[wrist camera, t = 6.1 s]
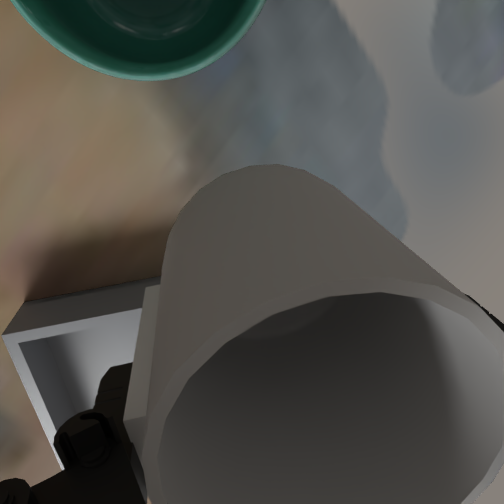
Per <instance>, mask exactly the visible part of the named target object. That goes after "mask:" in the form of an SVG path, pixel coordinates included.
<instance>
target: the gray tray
mask: <svg viewBox="0 0 504 504" xmlns="http://www.w3.org/2000/svg"><path fill="white" fill-rule="evenodd" d="M159 284H161V276H159V277H153V278H148V279H143V280H138V281H132V282H127V283H122V284H117V285H112V286H106V287H101V288H96V289H91V290H86V291H80V292H75V293H70V294H65V295H59V296H54V297H49V298H44V299H39V300H33V301H28V302H24V303H23V304H22V306H21V307H20V309H19V310H18V312H17V313H16V315H15V316H14V318H13V319H12V321H11V322H10V323H9V325H8V326H7V328H6V329H5V331H4V332H3V334H2V335H1V336H2V338H3V340H4V343H5V345H6V347H7V349H8V352H9V354H10V356H11V358H12V360H13V363H14V365H15V367H16V369H17V371H18V374H19V376H20V378H21V380H22V383H23V385H24V387H25V389H26V391H27V394H28V396H29V398H30V400H31V402H32V405H33V407H34V409H35V411H36V414H37V416H38V418H39V420H40V422H41V425H42V427H43V429H44V431H45V433H46V436H47V438H48V440H49V442H50V445H51V447H52V449H53V451H54V453H55V456H56V458H57V460H58V462H59V464H60V467H61V469H62V470H64V469H65V468H64V466H63V464H62V462H61V460H60V458H59V456H58V454H57V452H56V450H55V448H54V446H53V442H54V436H55V434H56V432H57V431H58V429H59V427H60V426H62V425H63V424H64V423H65V422H66V421H67V420H68V419H69V418H71V417H73V416H74V415H76V414H78V413H80V412H83V411H85V410H88V409H93V407H94V405H95V399H96V395H98V394H97V391H98V388H99V384H100V380H101V379H102V377H103V376H104V375H105V373H106V372H107V371H108V369H109V368H110V367H113V366H117V365H122V364H126V363H131V362H133V359H134V353H135V347H136V341H137V335H138V330H139V324H140V318H141V312H142V306H143V300H144V294H145V288H146V287H150V286H154V285H159Z"/></svg>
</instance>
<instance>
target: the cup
mask: <svg viewBox="0 0 504 504" xmlns="http://www.w3.org/2000/svg"><path fill="white" fill-rule="evenodd" d="M503 463H504V332H503V331H502V330H501V329H500V328H499V327H498V326H497V325H496V324H495V322H494V321H493V320H492V319H491V318H490V317H489V316H488V315H487V314H486V313H485V312H484V311H483V310H482V309H481V308H480V307H479V306H478V305H477V304H476V303H474V302H473V301H472V300H471V299H469V298H468V297H467V296H466V295H465V294H463V293H462V292H461V291H460V290H459V289H457V288H456V287H455V286H454V285H453V284H451V283H450V282H449V281H448V280H447V279H445V278H444V277H443V276H442V275H441V274H439V273H438V272H437V271H436V270H435V269H433V268H432V267H431V266H430V265H429V264H427V263H426V262H425V261H424V260H422V259H421V258H420V257H419V256H418V255H416V254H415V253H414V252H413V251H412V250H410V249H409V248H408V247H407V246H406V245H404V244H403V243H402V242H401V241H400V240H398V239H397V238H396V237H395V236H394V235H392V234H391V233H390V232H389V231H388V230H386V229H385V228H384V227H383V226H382V225H380V224H379V223H378V222H377V221H376V220H374V219H373V218H372V217H371V216H369V215H368V214H367V213H366V212H365V211H363V210H362V209H361V208H360V207H359V206H357V205H356V204H355V203H354V202H353V201H351V200H350V199H349V198H348V197H347V196H345V195H344V194H343V193H342V192H341V191H339V190H338V189H337V188H336V187H335V186H333V185H331V184H329V183H328V182H326V181H324V180H322V179H320V178H318V177H316V176H315V175H313V174H311V173H309V172H307V171H305V170H302V169H297V168H293V167H288V166H284V165H279V164H273V165H255V166H248V167H245V168H242V169H239V170H235V171H232V172H229V173H226V174H223V175H222V176H220V177H218V178H217V179H215V180H214V181H212V182H211V183H209V184H208V185H206V186H205V187H203V188H201V189H200V190H199V191H198V192H197V193H196V194H195V195H194V196H193V197H192V199H191V200H190V201H189V202H188V203H187V204H186V205H185V206H184V207H183V208H182V210H181V211H180V213H179V215H178V217H177V219H176V221H175V223H174V225H173V227H172V229H171V231H170V233H169V236H168V240H167V244H166V250H165V255H164V261H163V266H162V275H161V284H160V293H159V302H158V311H157V321H156V330H155V339H154V348H153V357H152V367H151V376H150V385H149V394H148V403H147V412H146V422H145V431H144V440H143V449H142V464H143V470H144V476H145V482H146V488H147V494H148V498H149V499H150V501H151V503H152V504H472V503H473V502H474V501H475V500H476V499H477V498H478V496H480V494H481V493H482V492H483V491H484V490H485V489H486V488H487V487H488V486H489V485H490V484H491V483H492V481H493V480H494V479H495V477H496V475H497V474H498V472H499V470H500V469H501V467H502V465H503Z"/></svg>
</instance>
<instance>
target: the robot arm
mask: <svg viewBox="0 0 504 504" xmlns="http://www.w3.org/2000/svg"><path fill="white" fill-rule="evenodd" d="M159 293H160V284H159V285H154V286H150V287H146V288H145V294H144V300H143V306H142V312H141V318H140V324H139V330H138V335H137V341H136V347H135V353H134V359H133V362H131V363H126V364H122V365H117V366H113V367H110V368H109V369H108V371H107V372H106V373H105V375H104V376H103V377H102V379H101V380H100V384H99V388H98V391H97V394H98V395H96V399H95V405H94V407H93V409H88V410H85V411H83V412H80V413H78V414H76V415H74V416H73V417H71V418H69V419H68V420H67V421H66V422H65V423H64V424H63V425H62V426H60V427H59V429H58V431H57V432H56V434H55V436H54V442H53V446H54V448H55V450H56V452H57V454H58V456H59V458H60V460H61V462H62V464H63V466H64V468H65V469H64V470H62V471H61V472H59V473H58V474H56V475H54V476H52V477H50V478H48V479H46V480H44V481H42V482H40V483H38V484H36V485H34V486H32V487H30V486H29V485H28V483H27V482H26V481H25V480H23V479H18V478H13V479H7V480H3V481H1V482H0V504H147V498H148V494H147V488H146V482H145V476H144V470H143V464H142V449H143V440H144V431H145V422H146V412H147V403H148V394H149V385H150V376H151V367H152V357H153V348H154V339H155V330H156V321H157V311H158V302H159ZM463 294H464V293H463ZM465 295H466V294H465ZM466 296H467V297H468V298H469V299H471V300H472V301H473V302H474V303H476V304H477V305H478V306H479V307H480V308H481V309H482V310H483V311H484V312H485V313H486V314H487V315H488V316H489V317H490V318H491V319H492V320H493V321H494V322H495V324H496V325H497V326H498V327H499V328H500V329H501V330H502V331H503V332H504V324H503V323H502V322H500V321H499V320H498V319H497V318H496V317H494V316H493V315H492V314H489V312H488V311H487V310H486V309H485V308H483V307H481V306H480V304H478V303H477V302H476V301H475V300H474V299H472V298H471V297H470V296H468V295H466Z"/></svg>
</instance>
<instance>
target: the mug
mask: <svg viewBox="0 0 504 504" xmlns="http://www.w3.org/2000/svg"><path fill="white" fill-rule="evenodd" d="M10 1H11V2H12V3H13V5H14V6H15V8H16V9H17V10H18V12H19V13H20V14H21V15H22V16H23V18H24V19H25V20H26V21H27V22H28V23H29V24H30V25H31V26H32V27H33V28H34V29H35V30H36V31H37V32H38V33H39V34H40V35H41V36H42V37H43V38H44V39H45V40H47V41H48V42H49V43H50V44H51V45H52V46H54V47H55V48H56V49H58V50H59V51H61V52H62V53H63V54H65V55H67V56H68V57H70V58H71V59H73V60H75V61H77V62H78V63H80V64H82V65H84V66H86V67H88V68H91V69H93V70H95V71H98V72H101V73H104V74H107V75H110V76H114V77H117V78H122V79H129V80H138V81H157V80H167V79H173V78H178V77H182V76H185V75H188V74H192V73H194V72H196V71H199V70H201V69H203V68H205V67H207V66H209V65H210V64H212V63H214V62H215V61H217V60H218V59H220V58H221V57H222V56H224V55H225V54H226V53H227V52H228V51H230V50H231V49H232V48H233V47H234V46H235V45H236V44H237V43H238V42H239V41H240V40H241V39H242V38H243V36H244V35H245V34H246V33H247V31H248V30H249V29H250V27H251V26H252V25H253V23H254V22H255V20H256V19H257V17H258V15H259V14H260V12H261V10H262V8H263V6H264V4H265V2H266V0H10Z"/></svg>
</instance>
